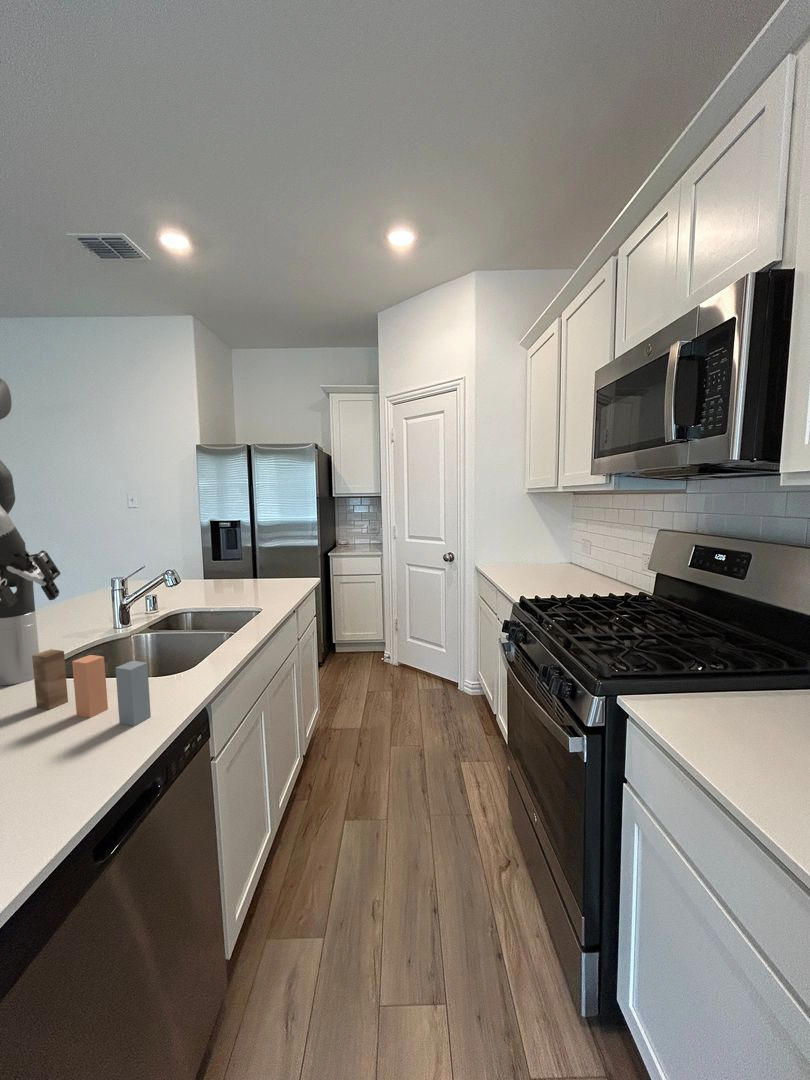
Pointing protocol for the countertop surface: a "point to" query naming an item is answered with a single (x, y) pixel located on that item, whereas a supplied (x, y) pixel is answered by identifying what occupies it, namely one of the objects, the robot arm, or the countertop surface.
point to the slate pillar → (133, 693)
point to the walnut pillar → (50, 679)
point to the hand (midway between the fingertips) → (33, 600)
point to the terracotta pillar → (90, 685)
